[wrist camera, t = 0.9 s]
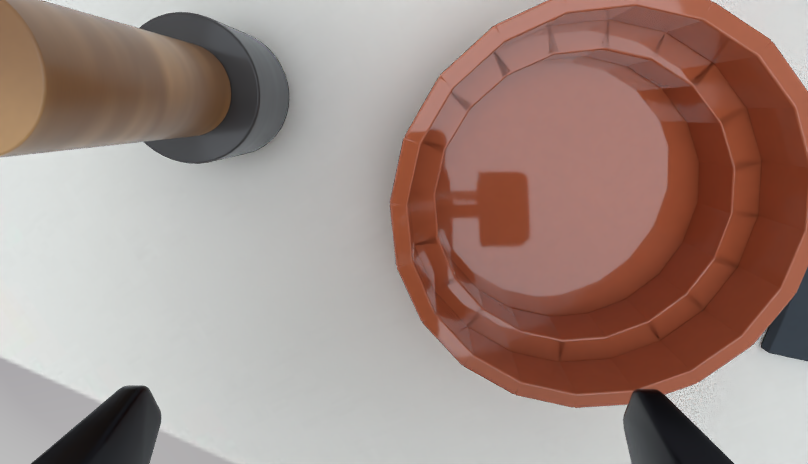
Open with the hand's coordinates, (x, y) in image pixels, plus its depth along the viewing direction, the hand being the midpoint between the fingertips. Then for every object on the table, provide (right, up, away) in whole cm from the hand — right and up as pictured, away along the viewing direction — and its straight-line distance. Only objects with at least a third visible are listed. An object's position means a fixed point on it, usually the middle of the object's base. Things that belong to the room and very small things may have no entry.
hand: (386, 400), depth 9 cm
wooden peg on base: (-7, +9, +12) cm, 17 cm away
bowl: (+7, +5, +13) cm, 15 cm away
